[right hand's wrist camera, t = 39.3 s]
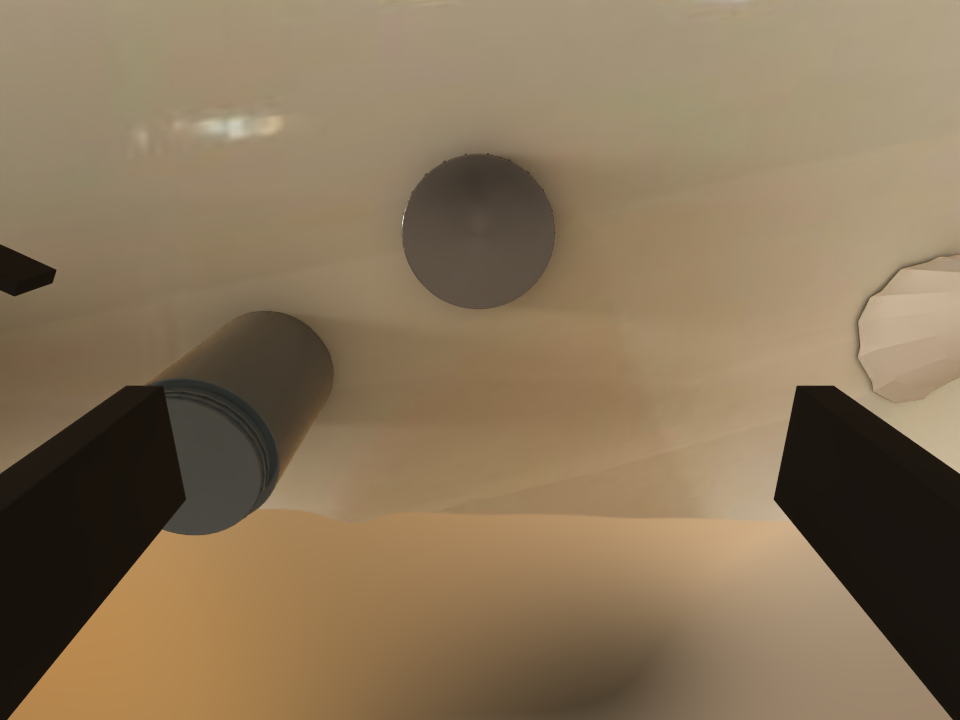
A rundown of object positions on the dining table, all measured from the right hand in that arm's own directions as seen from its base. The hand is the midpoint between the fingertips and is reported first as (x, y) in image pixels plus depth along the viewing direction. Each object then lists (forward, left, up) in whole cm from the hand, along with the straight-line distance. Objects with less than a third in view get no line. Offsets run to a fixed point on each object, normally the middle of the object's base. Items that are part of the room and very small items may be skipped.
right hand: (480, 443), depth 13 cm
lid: (0, 0, -30) cm, 31 cm away
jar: (+15, +13, -32) cm, 38 cm away
